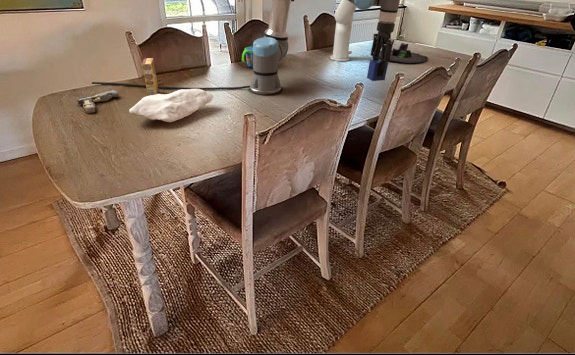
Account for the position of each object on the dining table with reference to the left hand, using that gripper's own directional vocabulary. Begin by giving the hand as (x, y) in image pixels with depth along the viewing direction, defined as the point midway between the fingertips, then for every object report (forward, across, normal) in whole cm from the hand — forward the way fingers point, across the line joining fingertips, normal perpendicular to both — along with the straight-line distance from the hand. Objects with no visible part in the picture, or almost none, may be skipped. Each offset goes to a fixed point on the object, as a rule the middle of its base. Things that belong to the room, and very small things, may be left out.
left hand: (376, 74), depth 173 cm
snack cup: (+12, +58, +44) cm, 74 cm away
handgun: (+12, +19, +123) cm, 125 cm away
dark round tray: (+10, +59, -57) cm, 83 cm away
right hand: (-20, +85, +15) cm, 89 cm away
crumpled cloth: (+12, 0, +95) cm, 96 cm away
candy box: (+12, +25, +101) cm, 105 cm away
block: (+2, 0, 0) cm, 2 cm away
